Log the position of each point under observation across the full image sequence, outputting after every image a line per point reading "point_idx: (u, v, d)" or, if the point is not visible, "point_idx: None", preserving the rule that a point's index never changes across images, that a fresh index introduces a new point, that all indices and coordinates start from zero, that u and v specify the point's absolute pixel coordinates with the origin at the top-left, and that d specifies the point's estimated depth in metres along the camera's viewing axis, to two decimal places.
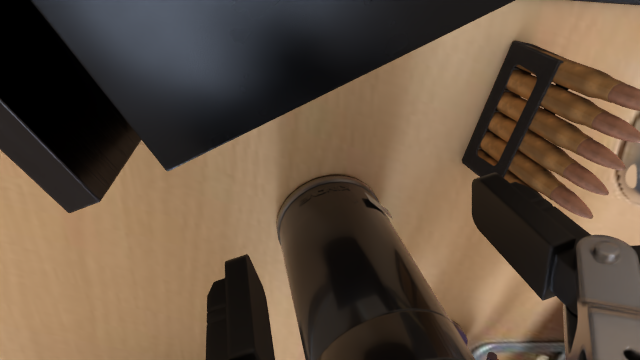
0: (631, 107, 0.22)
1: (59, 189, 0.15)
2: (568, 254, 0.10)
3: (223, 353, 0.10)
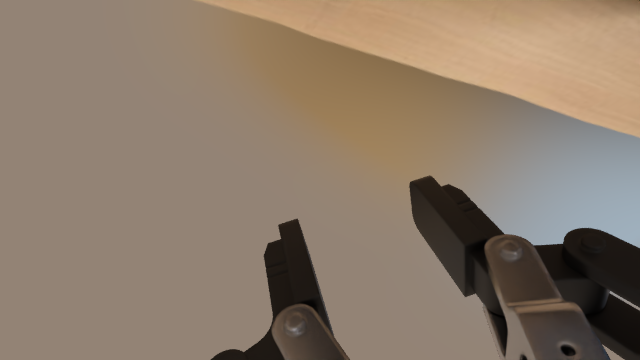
0: None
1: None
2: (481, 253, 0.11)
3: (287, 301, 0.11)
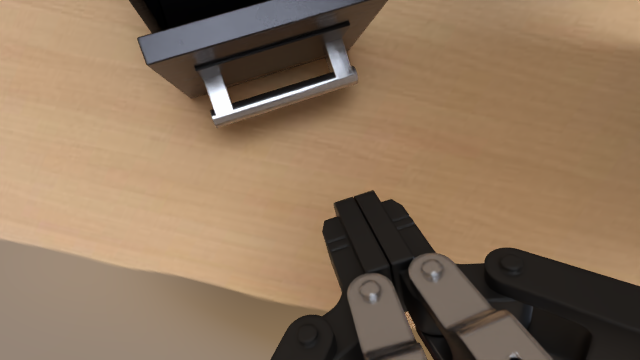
0: None
1: None
2: None
3: (354, 272, 0.11)
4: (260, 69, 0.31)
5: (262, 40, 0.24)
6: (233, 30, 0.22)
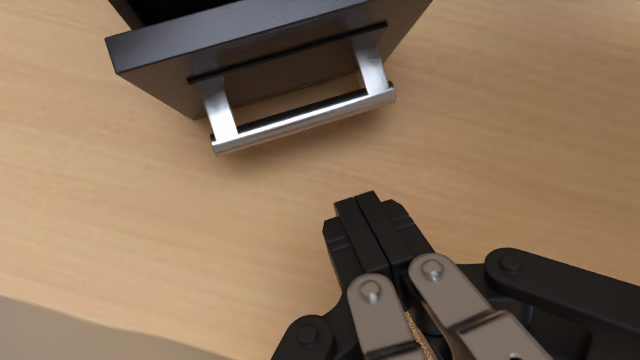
0: None
1: None
2: (409, 271, 0.11)
3: (354, 272, 0.11)
4: (274, 85, 0.25)
5: (272, 43, 0.18)
6: (232, 28, 0.16)
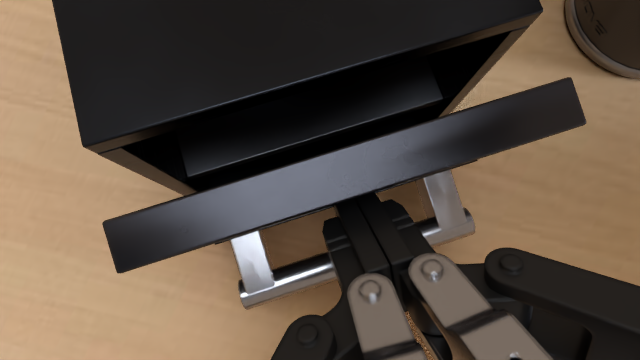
0: None
1: (549, 115, 0.12)
2: None
3: (354, 272, 0.11)
4: None
5: None
6: (284, 203, 0.11)
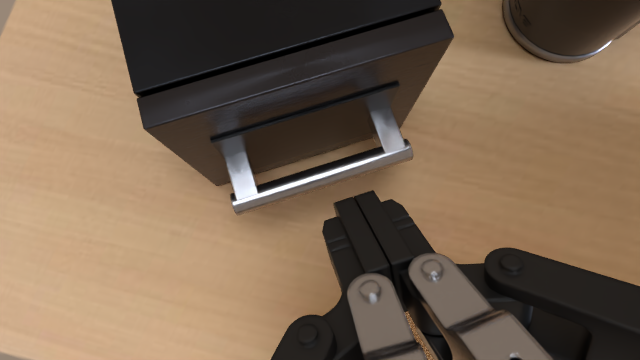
0: None
1: (428, 31, 0.18)
2: None
3: (354, 272, 0.11)
4: (294, 148, 0.26)
5: (290, 101, 0.19)
6: (252, 86, 0.18)
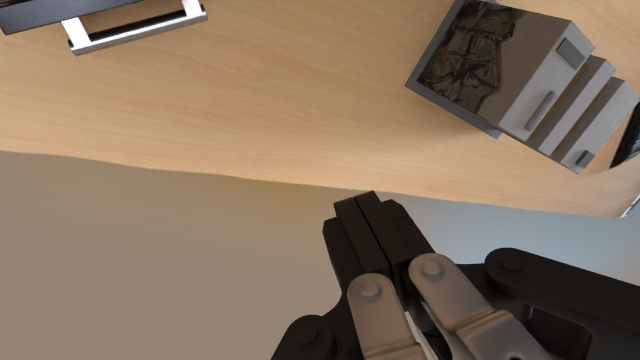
0: None
1: None
2: None
3: (354, 272, 0.11)
4: None
5: None
6: (86, 6, 0.25)
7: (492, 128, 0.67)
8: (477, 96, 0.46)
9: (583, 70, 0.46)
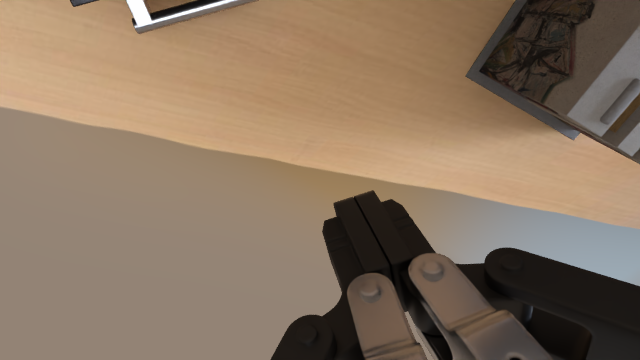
0: None
1: None
2: None
3: (354, 272, 0.11)
4: None
5: None
6: None
7: (568, 127, 0.61)
8: (545, 85, 0.42)
9: None
